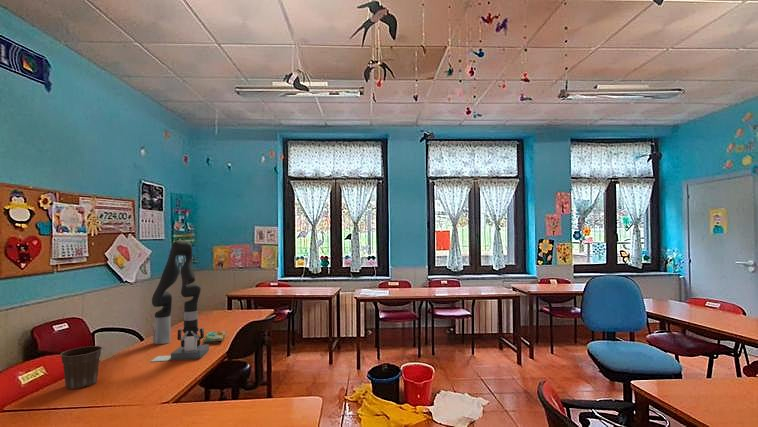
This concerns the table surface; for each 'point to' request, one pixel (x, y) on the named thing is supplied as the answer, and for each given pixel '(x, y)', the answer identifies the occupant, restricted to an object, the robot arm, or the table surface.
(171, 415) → the table surface
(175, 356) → the hollow block
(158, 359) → the mat
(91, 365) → the plant pot
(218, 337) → the puzzle game
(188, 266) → the robot arm
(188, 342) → the can
